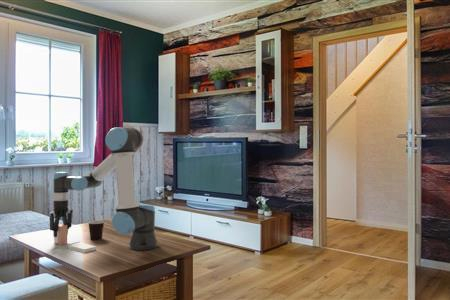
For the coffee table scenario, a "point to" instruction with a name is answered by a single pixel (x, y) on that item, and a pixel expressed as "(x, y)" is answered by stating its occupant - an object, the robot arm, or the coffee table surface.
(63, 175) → the robot arm
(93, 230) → the coffee mug
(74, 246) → the pad
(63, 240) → the stub
